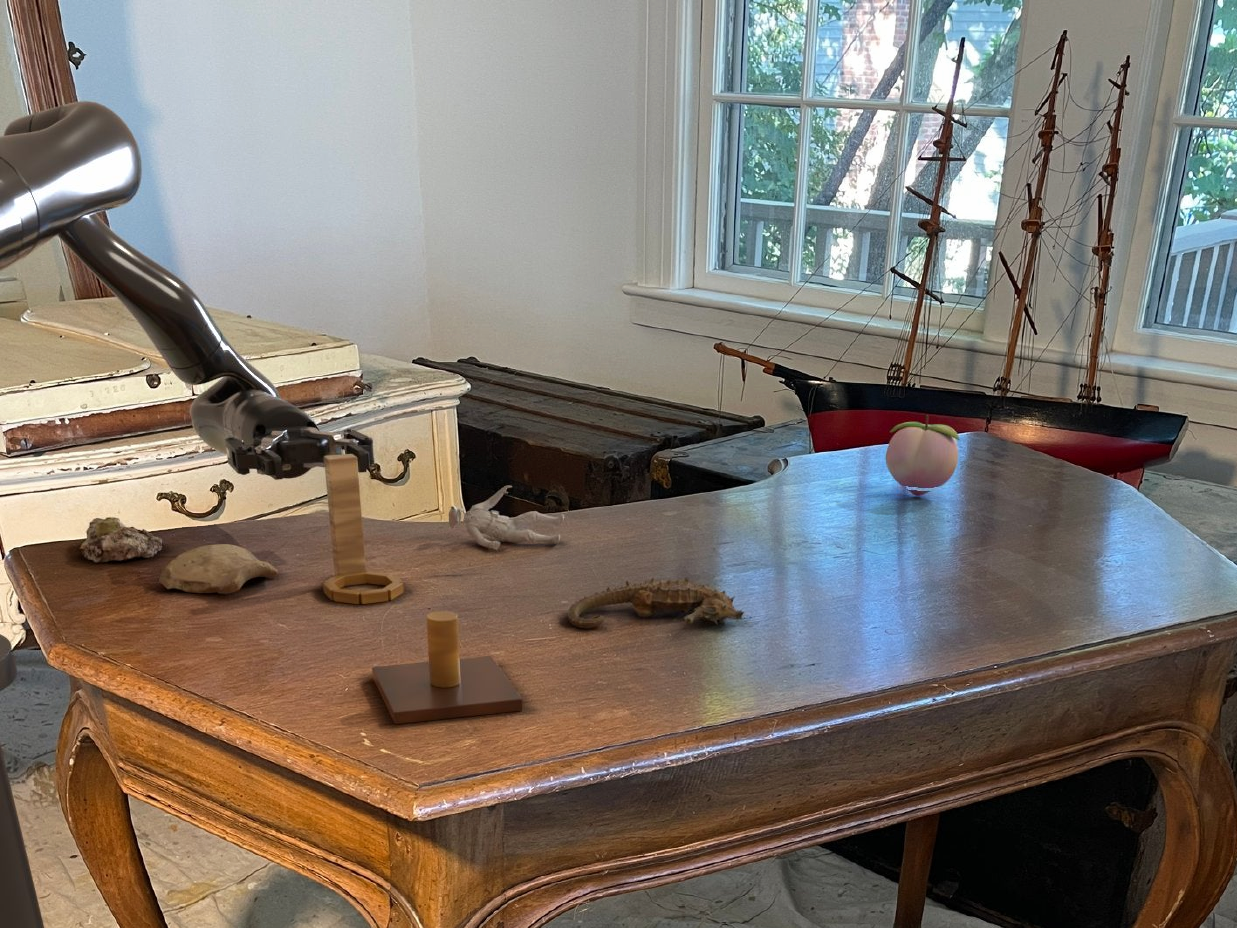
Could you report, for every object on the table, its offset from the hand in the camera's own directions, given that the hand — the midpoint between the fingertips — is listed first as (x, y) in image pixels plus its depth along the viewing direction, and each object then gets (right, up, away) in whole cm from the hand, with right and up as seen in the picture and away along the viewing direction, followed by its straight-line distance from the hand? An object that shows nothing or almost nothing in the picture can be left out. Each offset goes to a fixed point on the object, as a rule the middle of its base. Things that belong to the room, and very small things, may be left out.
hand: (321, 465), depth 129 cm
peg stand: (+16, -26, -25) cm, 40 cm away
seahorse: (+33, -17, -7) cm, 38 cm away
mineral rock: (-23, -7, +7) cm, 25 cm away
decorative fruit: (+67, +8, +40) cm, 78 cm away
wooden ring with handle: (+5, -13, -3) cm, 14 cm away
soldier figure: (+17, -4, +14) cm, 22 cm away
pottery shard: (-8, -12, -2) cm, 15 cm away
